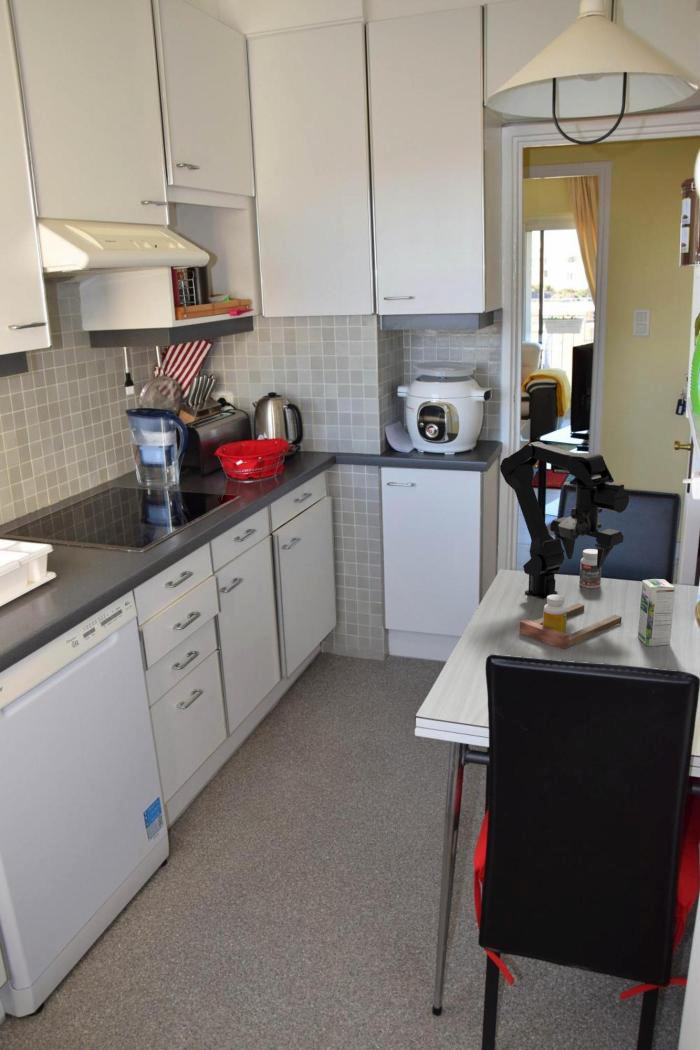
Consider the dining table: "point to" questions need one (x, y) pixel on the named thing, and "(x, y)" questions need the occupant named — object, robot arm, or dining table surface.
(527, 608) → the dining table surface
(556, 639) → the frame
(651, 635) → the syrup box
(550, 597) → the supplement bottle
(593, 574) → the pill bottle
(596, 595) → the dining table surface
